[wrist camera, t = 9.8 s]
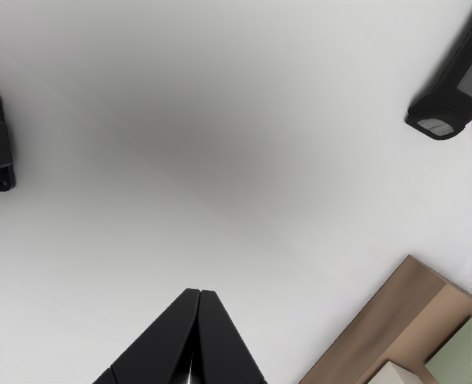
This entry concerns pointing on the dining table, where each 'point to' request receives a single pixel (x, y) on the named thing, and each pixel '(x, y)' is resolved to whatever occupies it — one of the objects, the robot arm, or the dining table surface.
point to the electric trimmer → (447, 99)
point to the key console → (397, 328)
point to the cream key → (395, 376)
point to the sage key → (454, 359)
